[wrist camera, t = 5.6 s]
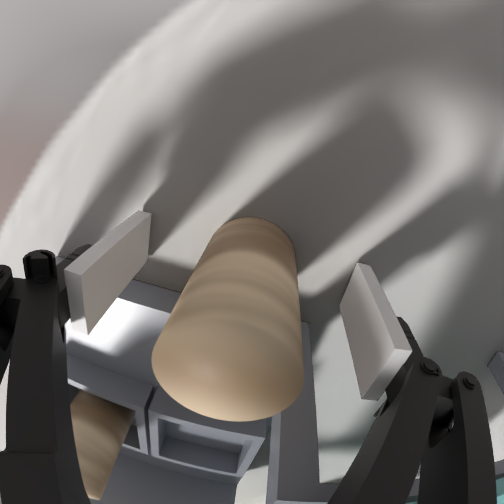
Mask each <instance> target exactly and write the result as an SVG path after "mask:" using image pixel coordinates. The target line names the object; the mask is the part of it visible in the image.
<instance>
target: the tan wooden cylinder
mask: <svg viewBox="0 0 504 504" xmlns="http://www.w3.org/2000/svg"><path fill="white" fill-rule="evenodd" d="M70 409H71V418H72V425H73V432H74V439H75V445H76V451H77V456H78V461H79V466H80V471H81V475H82V480H83V484H84V487H85V490H86V493H87V495H88V497H89V498H91V499H95V500H100V499H101V497H102V494H103V492H104V489H105V486H106V484H107V481H108V479H109V476H110V474H111V471H112V469H113V466H114V464H115V461H116V459H117V457H118V454H119V452H120V449H121V447H122V444H123V442H124V440H125V437H126V435H127V432H128V430H129V428H130V425H131V423H132V421H133V418H134V416H135V410H132V409H130V408H127V407H124V406H121V405H119V404H116V403H113V402H111V401H108V400H106V399H103V398H101V397H98V396H96V395H93V394H91V393H89V392H86V391H84V390H82V389H80V390H79V391H78V393H77V395H76V396H75V398H74V400H73V401H72V403H71V405H70Z"/></svg>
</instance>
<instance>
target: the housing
mask: <svg viewBox="0 0 504 504" xmlns="http://www.w3.org/2000/svg"><path fill="white" fill-rule="evenodd" d="M55 258H56V265H57V264H59V263H60V262H61V261H62V260H64V259H65V258H62V257H59V256H57V257H55ZM180 295H181V293H180V292H176V291H172V290H168V289H165V288H161V287H158V286H154V285H150V284H147V283H143V282H140V281H136V280H133V279H132V280H131V281H130V283H129V284H128V285H127V286H126V287H125V289H124V290H123V291H122V292H121V294H120V295H119V296H118V297H117V299H116V300H115V301H114V303H113V304H112V305H111V306H110V308H109V309H108V310H107V311H106V313H105V314H104V315H103V317H102V318H101V319H100V321H99V322H98V323H97V324H96V326H95V327H94V328H93V330H92V331H91V332H90V334H89V335H88V336H87V335H84V334H82V333H79V332H77V331H74V330H72V326H71V320H70V319H69V320H68V321H67V323H66V324H65V328H66V353H67V375H68V389H69V400H70V405H71V403H72V401H73V400H74V398H75V396H76V395H77V393H78V391H79V390H80V389H82V390H84V391H86V392H89V393H91V394H93V395H96V396H98V397H101V398H103V399H106V400H108V401H111V402H113V403H116V404H119V405H121V406H124V407H127V408H130V409H132V410H135V416H134V418H133V421H132V423H131V425H130V428H129V430H128V432H127V435H126V437H125V440H124V442H123V444H122V447H121V449H120V452H119V454H118V457H117V459H116V461H115V464H114V466H113V469H112V471H111V474H110V476H109V479H108V481H107V484H106V486H105V489H104V492H103V494H102V497H101V499H100V500H95V499H91V498H89V499H90V502H91V504H234V502H235V495H236V488H237V484H238V483H239V481H240V479H241V478H242V477H243V476H244V474H245V472H246V471H247V469H248V467H249V466H250V464H251V462H252V461H253V459H254V457H255V455H256V454H257V452H258V450H259V448H260V447H261V445H262V443H263V441H264V440H265V438H266V434H267V433H268V431H269V429H270V427H271V439H270V454H269V468H268V482H267V494H266V504H327V503H328V502H329V500H330V499H331V497H332V496H333V494H334V492H335V491H336V489H337V488H338V486H339V485H340V484H320V482H319V457H318V437H317V420H316V405H315V391H314V378H313V366H312V355H311V344H310V334H309V324H308V323H307V322H302V321H301V335H302V351H303V368H304V383H303V387H302V390H301V392H300V394H299V396H298V397H297V399H296V400H295V401H294V402H293V403H292V404H291V405H290V406H289V407H287V408H286V409H285V410H283V411H281V412H280V413H278V414H275V415H273V416H270V417H267V418H264V419H259V420H254V421H241V422H240V421H225V420H219V419H214V418H211V417H207V416H204V415H201V414H198V413H196V412H194V411H192V410H190V409H188V408H186V407H184V406H183V405H181V404H180V403H178V402H177V401H176V400H174V399H173V398H172V397H171V396H170V395H169V394H168V393H167V392H166V391H165V390H164V389H163V388H162V386H161V385H160V384H159V382H158V380H157V379H156V376H155V374H154V372H153V368H152V360H151V359H152V352H153V348H154V346H155V344H156V342H157V340H158V338H159V336H160V334H161V332H162V330H163V328H164V326H165V324H166V322H167V320H168V318H169V316H170V314H171V312H172V310H173V309H174V307H175V305H176V303H177V301H178V299H179V297H180ZM488 368H489V369H490V371H491V373H492V375H493V376H494V378H495V380H496V381H497V383H498V385H499V387H500V389H501V390H502V392H503V394H504V352H497V353H496V355H495V356H494V357H493V359H492V360H491V362H490V363H489V364H488ZM494 465H495V475H496V480H498V479H500V478H503V477H504V460H501V461H497V462H494ZM419 482H420V478H419V479H415V480H414V483H413V486H412V488H411V491H410V494H409V496H408V499H407V501H406V503H409V502H415V501H418V492H419Z"/></svg>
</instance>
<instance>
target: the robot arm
mask: <svg viewBox="0 0 504 504" xmlns="http://www.w3.org/2000/svg"><path fill="white" fill-rule="evenodd" d="M151 215H152V213H147V212H143V211H139V210H138V211H137V212H136V213H134V214H133V215H132V216H130V217H129V218H128V219H126V220H125V221H124V222H122V223H121V224H120V225H118V226H117V227H116V228H114V229H113V230H112V231H110V232H109V233H108V234H107V235H105V236H104V237H103V238H101V239H100V240H99V241H98V242H96V243H95V244H94V245H93V246H92V245H89V244H87V245H84V246H82V247H79V248H77V249H76V250H75V251H74V252H72V254H70V255H69V256H67V257H66V258H65V259H64V260H62V261H61V262H60V263H59V264H57V265H56V258H55V254H54V253H53V252H51V251H48V250H35V251H32V252H29V253H28V254H26V255H25V256H24V258H23V265H24V271H25V277H26V279H21V278H13V276H12V271H11V268H10V267H9V266H6V265H0V384H1V381H2V379H3V376H4V373H5V370H6V368H7V365H8V363H9V360H10V366H9V375H8V387H7V404H6V448H5V450H4V451H1V452H0V496H1V503H2V504H91V502H90V499H89V497H88V495H87V493H86V490H85V487H84V484H83V480H82V475H81V471H80V466H79V461H78V456H77V451H76V445H75V439H74V432H73V425H72V418H71V409H70V400H69V389H68V375H67V353H66V328H65V324H66V323H67V321H68V320H69V319H70V320H71V326H72V330H74V331H77V332H79V333H82V334H84V335H87V336H88V335H89V334H90V332H91V331H92V330H93V328H94V327H95V326H96V324H97V323H98V322H99V321H100V319H101V318H102V317H103V315H104V314H105V313H106V311H107V310H108V309H109V308H110V306H111V305H112V304H113V303H114V301H115V300H116V299H117V297H118V296H119V295H120V294H121V292H122V291H123V290H124V289H125V287H126V286H127V285H128V284H129V283H130V281H131V280H132V279H133V278H134V276H135V275H136V274H137V273H138V272H139V270H140V269H141V268H142V267H143V266H144V264H145V263H146V262H147V261H148V249H149V236H150V225H151ZM339 307H340V311H341V314H342V318H343V322H344V326H345V330H346V334H347V338H348V342H349V346H350V350H351V354H352V359H353V363H354V367H355V372H356V376H357V381H358V385H359V390H360V395H361V399H366V400H379V398H380V397H381V396H382V394H383V393H384V392H385V391H386V395H387V399H386V401H385V402H384V403H383V405H382V406H381V407H380V408H379V410H378V411H377V412H376V413H375V414H374V417H376V416H377V417H376V419H375V421H374V423H373V425H372V427H371V429H370V431H369V433H368V435H367V437H366V439H365V441H364V443H363V445H362V447H361V449H360V450H359V452H358V454H357V456H356V458H355V459H354V461H353V463H352V465H351V466H350V468H349V470H348V471H347V473H346V475H345V476H344V478H343V480H342V481H341V483H340V485H339V486H338V488H337V489H336V491H335V492H334V494H333V496H332V497H331V499H330V500H329V502H328V503H327V504H406V501H407V499H408V496H409V494H410V491H411V488H412V486H413V483H414V480H415V478H416V475H417V472H418V469H419V466H420V463H421V469H420V482H419V492H418V501H417V504H497V490H496V475H495V465H494V456H493V448H492V441H491V434H490V428H489V423H488V417H487V412H486V407H485V403H484V398H483V394H482V390H481V386H480V383H479V382H478V380H477V379H476V377H475V376H473V375H472V374H470V373H468V372H459V374H458V375H457V376H456V378H455V379H451V378H448V377H445V376H442V373H441V370H440V368H439V366H438V365H437V364H436V363H435V362H434V361H432V360H431V359H428V358H426V357H423V354H422V352H421V350H420V348H419V346H418V344H417V342H416V340H414V339H415V338H414V336H413V334H411V333H412V332H411V330H410V328H409V326H408V324H407V323H406V322H405V321H404V320H403V319H402V318H401V317H397V316H396V315H395V313H394V311H393V309H392V307H391V305H390V303H389V301H388V299H387V297H386V295H385V293H384V291H383V289H382V287H381V285H380V283H379V281H378V279H377V278H376V276H375V274H374V272H373V270H372V268H371V266H370V265H366V264H362V263H358V262H357V264H356V266H355V269H354V271H353V274H352V276H351V279H350V281H349V284H348V286H347V289H346V291H345V293H344V296H343V298H342V300H341V303H340V305H339ZM453 422H454V425H453V428H452V423H453Z"/></svg>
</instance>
